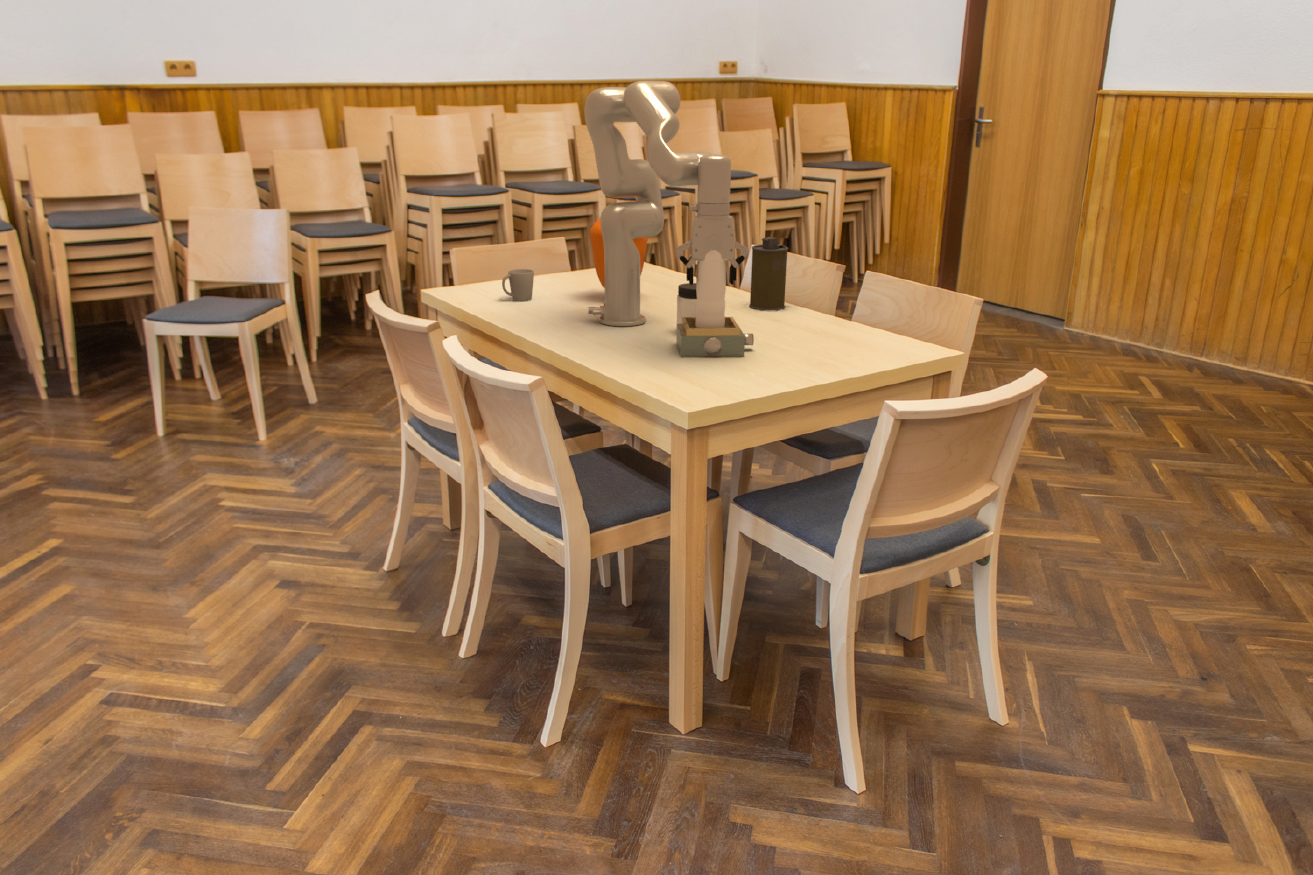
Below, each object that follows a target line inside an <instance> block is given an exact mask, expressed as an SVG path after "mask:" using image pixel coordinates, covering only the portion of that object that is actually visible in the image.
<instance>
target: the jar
mask: <svg viewBox="0 0 1313 875" xmlns="http://www.w3.org/2000/svg"><path fill="white" fill-rule="evenodd" d="M677 292H678V293H677V295H676V296H677V297H676V325H677V324H682V317H696V300H697V292H696V283H695V282H693V284H692V285H690V284H689V282H688V283H682V284H680V285H678V291H677Z"/></svg>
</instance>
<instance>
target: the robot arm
mask: <svg viewBox="0 0 1313 875" xmlns="http://www.w3.org/2000/svg"><path fill="white" fill-rule="evenodd" d="M680 107H681V96H680V92H679V89H677V87H676V86H675V85H674V84H673V83H671V82H669V81H666V80H662V81H661V80H638V81H635V82H632V83H630V84H629V85H628V86H627V87H626V86H625V87H623V86H606V87H605V86H604V87H599V88H597V89H595V90H592V91H591V92H590V93H589V94H588V96H587V98H586V100H585V105H584V121H585V126H586V128H587V131H588V134H589V137H590V140H591V142H592V143H591V144H592V145H593V151H594V157H595V164H596V169H597V175H598V182H599V186H600V189H601V190H600V191H601V192H602V193H603V195H604V196H605V197H607V198H608V197H609V198H620V199H621V198H632V197H634V198H635V201H619V202H614V203H611V204H609V205H606V206H605V207H604V208H602V211H601V212H600V216H599V218H600V225H601V230H602V235H603V242H604V264H605V288H604V303H603V305H599V306H587V307H588V310H587V311H588V314H589V315H593V316H598V315H599V321H598V322H600V323H601V324H602V325H606V326H611V327H633V326H638V325H642V324H644V323H646V320H647V318H646V316H645V315H643V314H641V276H640V254H639V251H638V249H637V247H636V246H635V244H634V242H633V239H635V238H644V237H648V238H651V237H652V238H653V237H656V236H658V235H659V234H660V233H661V232H662V230H663V228H664V226H665V224H664V223H665V215H664V214H665V213H664V206H663V200H662V195H661V194H662V193H661V188H660V181H659V180H661V181H662V182H663V183H664V184H666V185H667V186H670V187H683V186H685V187H686V186H697V194H696V196H697V200H696V203H695V204H693V205H692V204H691V205H690V211H691V212H695V213H696V215H694V217H693V220H692V221H693V222H692V225H691V226H692V227H691V233H690V236H691V237H690V240H688V241H687V242H685V243H683V244H681V245H679V246H677V247H675V252H676V255H677V257H678V258H679V261H681V263H682V264H683V265H684V266H685V267H686V281H687V282H688V283H689V284H690V285H692V284H693V283H694V272H695V271H694V264H695V263H696V262H698V260H699V261H703V260H705V255H706V254H707V253H708V252H710V251H711V250H716V251H717V252H719V253H720V254H721V256H722V260H723V261H728V262H729V263H730V266H729V270H728V271H729V273H728V276H729V277H728V282H729V284H730V285H731V286H733V285H734V283H735V281H737V274H738V272H737V271H738V270H737V268H739V266H740V264H742V263H743V262H744V261H745V259H746V258H747V255H748V253H749V252H750V249H749V248H748V247H747V246H745V245H743V244H741V243H740V242H738V241H736V236H735V222H734V218H733V216H731V215H730V209H731V208H730V206H731V205H730V204H731V203H730V202H731V180H732V178H731V174H732V161H731V160H732V159H731V158H730V156H728V155H725V154H713V153H710V152H706V151H686V152H685V151H683V152H681V151H680V152H679V151H678V152H674V151H672V149H671V148H670V147H669V146H668V143H670V142H671V141H672V140H673V139H674V138H675V137H676V135H677V134H678V132H679V129H680V119H679V117H678V116H677V115H676V114H677V112H678V111H679V110H680ZM614 123H636V124H637V125H638V126H639V127H640V129H641V130H642V132H643V133H644V135H645V136H646V138H647V140H646V145H645V147H646V158H647V160H645V159H639V158H638V159H635V158H634V159H630V157H629V154H628V147H627V142H626V140H625V137H624V136H623V134H622V132H621V131H620V130H619V129H618V128H617V127H616V125H615V124H614ZM735 248H736V249H738V250H739V251H741V252H740V254H739V255H738V256H737V258H735V252H736V250H735ZM688 249H689V250H690V256H689V258H688V259H687V258H686V257H685V255H684V251H686V250H688Z"/></svg>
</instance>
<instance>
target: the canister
mask: <svg viewBox="0 0 1313 875" xmlns="http://www.w3.org/2000/svg"><path fill="white" fill-rule="evenodd" d="M761 241H762V244H755V245H753V246H751V252H752V253H751V273H750V274H751V275H750V276H751V278H750V302H749V303H750V304H749V308H751V309H752V310H755V309H759V310H758V311H763V310H776V311H780V310H779V309H782V310H784V309H785V308H786V305H785V304H786V302H785V300H786V284H787V263H788V250H789V247H787V245H786V244H782V243H780V242H779V238H778V237H773V236H768V237H763V238H761Z"/></svg>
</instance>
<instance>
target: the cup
mask: <svg viewBox="0 0 1313 875" xmlns="http://www.w3.org/2000/svg"><path fill="white" fill-rule="evenodd" d="M534 275H535V271H534V270H533V269H527V268H517V269H509V270H508V272H507V274H506V275H504V277H503V278H502V283H501V284H502V286H501V287H502V289H503V292H504V293H505V294H506V295H507V296H510V297H511V298H512V300H513V301H514V300H515V302H529V301H531V300H532V299H533V290H534V289H533V287H534V278H535V276H534ZM507 279H508V280H509V287H510V288H509V289H510V291H508V290H507V289H506V284H505V283H506V280H507ZM528 300H529V301H528Z"/></svg>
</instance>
